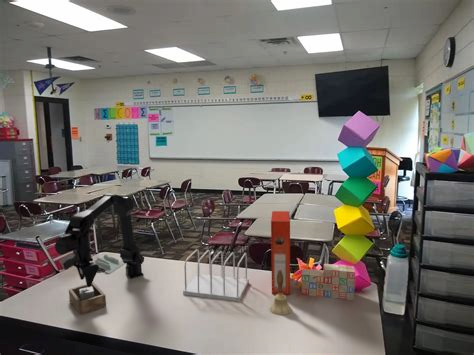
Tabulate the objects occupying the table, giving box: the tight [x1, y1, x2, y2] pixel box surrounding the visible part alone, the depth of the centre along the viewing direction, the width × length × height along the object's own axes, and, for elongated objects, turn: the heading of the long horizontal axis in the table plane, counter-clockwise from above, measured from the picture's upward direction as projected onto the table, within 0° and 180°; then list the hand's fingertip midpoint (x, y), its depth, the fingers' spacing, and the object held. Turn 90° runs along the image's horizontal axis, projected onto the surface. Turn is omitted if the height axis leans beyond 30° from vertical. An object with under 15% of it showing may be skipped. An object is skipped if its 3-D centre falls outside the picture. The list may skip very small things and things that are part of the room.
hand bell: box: [269, 270, 292, 316], centre depth 133 cm, size 8×8×16 cm
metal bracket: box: [93, 254, 126, 275], centre depth 178 cm, size 14×6×15 cm
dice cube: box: [79, 286, 94, 301], centre depth 140 cm, size 5×5×5 cm
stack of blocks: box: [301, 263, 356, 301], centre depth 145 cm, size 21×6×12 cm, turn 76°
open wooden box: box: [68, 281, 107, 316], centre depth 140 cm, size 10×15×5 cm, turn 39°
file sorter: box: [182, 248, 250, 302], centre depth 151 cm, size 25×17×16 cm
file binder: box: [270, 210, 291, 296], centre depth 152 cm, size 8×17×32 cm, turn 172°
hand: (85, 283), depth 139 cm, fingers open, 9 cm apart
